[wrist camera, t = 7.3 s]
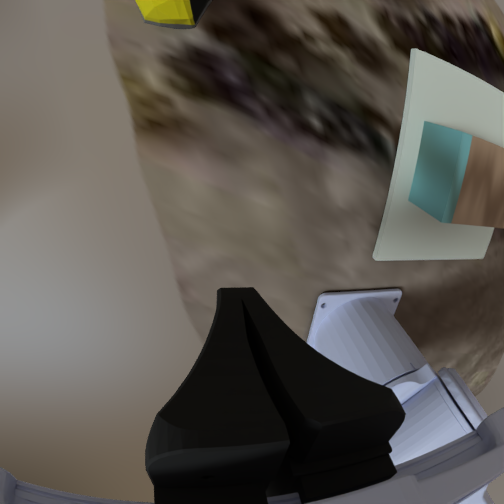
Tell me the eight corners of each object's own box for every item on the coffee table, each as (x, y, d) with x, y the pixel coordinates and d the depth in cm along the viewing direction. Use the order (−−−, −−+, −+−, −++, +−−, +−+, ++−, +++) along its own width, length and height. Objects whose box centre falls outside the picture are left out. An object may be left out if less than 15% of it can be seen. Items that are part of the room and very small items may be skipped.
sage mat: (479, 255, 26) (483, 258, 26) (372, 256, 24) (375, 260, 23) (517, 103, 19) (522, 104, 18) (410, 48, 16) (416, 48, 16)
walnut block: (504, 228, 19) (441, 222, 18) (473, 208, 23) (407, 200, 21) (523, 156, 16) (462, 131, 15) (489, 143, 20) (424, 120, 18)
